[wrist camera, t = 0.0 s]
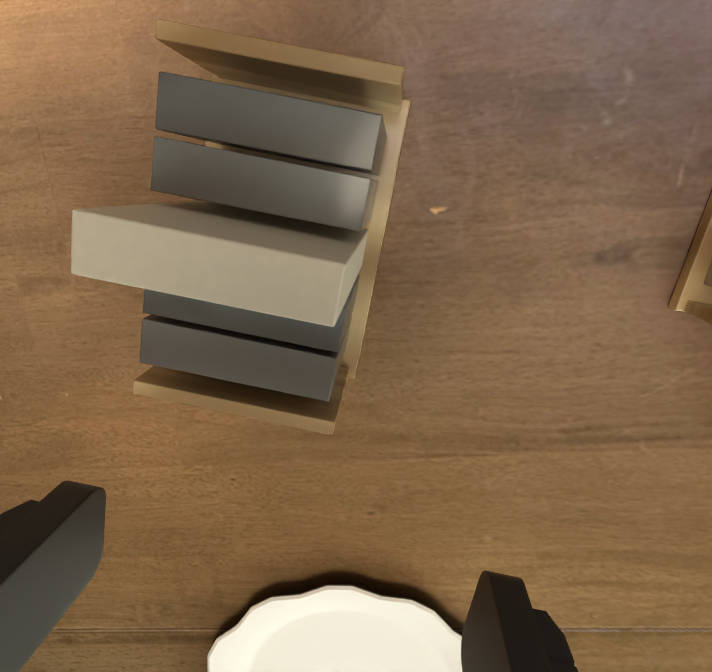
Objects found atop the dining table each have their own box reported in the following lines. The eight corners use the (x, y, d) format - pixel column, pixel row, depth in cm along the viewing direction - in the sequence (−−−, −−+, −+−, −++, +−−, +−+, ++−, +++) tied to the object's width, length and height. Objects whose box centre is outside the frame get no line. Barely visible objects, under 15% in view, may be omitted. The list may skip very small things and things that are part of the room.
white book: (215, 198, 32) (71, 208, 18) (368, 229, 32) (346, 263, 18) (211, 236, 33) (69, 274, 19) (361, 266, 33) (334, 328, 19)
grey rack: (218, 65, 31) (139, 12, 22) (410, 102, 31) (416, 65, 21) (191, 340, 36) (118, 395, 27) (355, 374, 36) (340, 442, 27)
